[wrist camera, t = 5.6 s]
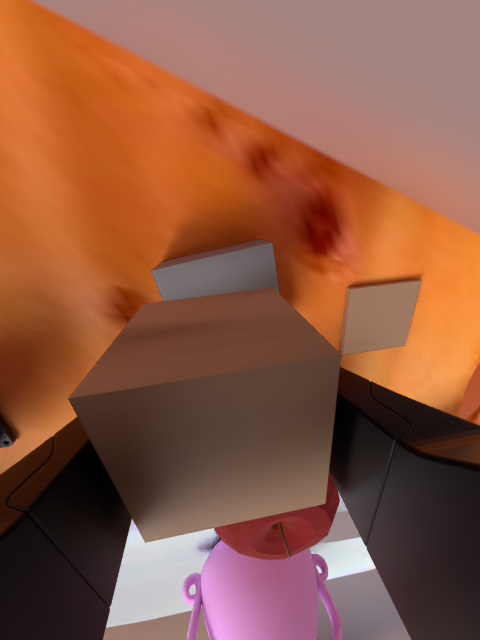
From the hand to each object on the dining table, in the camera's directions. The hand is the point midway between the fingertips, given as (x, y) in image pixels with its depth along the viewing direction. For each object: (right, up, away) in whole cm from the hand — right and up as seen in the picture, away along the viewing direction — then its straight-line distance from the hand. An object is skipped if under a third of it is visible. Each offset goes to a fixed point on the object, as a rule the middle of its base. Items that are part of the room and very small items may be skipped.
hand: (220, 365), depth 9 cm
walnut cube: (0, +1, +1) cm, 1 cm away
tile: (+14, +2, +14) cm, 20 cm away
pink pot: (+3, -37, +29) cm, 47 cm away
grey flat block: (-1, +4, +11) cm, 12 cm away
